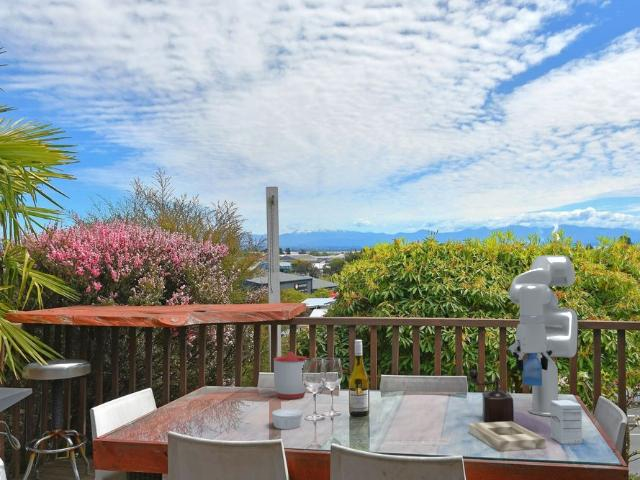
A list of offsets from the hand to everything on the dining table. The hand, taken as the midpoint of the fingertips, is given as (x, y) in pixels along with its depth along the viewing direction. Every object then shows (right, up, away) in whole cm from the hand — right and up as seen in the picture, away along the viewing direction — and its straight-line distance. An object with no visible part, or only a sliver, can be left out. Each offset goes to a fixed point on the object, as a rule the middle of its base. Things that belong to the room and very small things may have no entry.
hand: (532, 370), depth 215 cm
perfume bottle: (0, -5, 0) cm, 5 cm away
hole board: (-13, -21, -10) cm, 27 cm away
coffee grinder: (-10, -22, +15) cm, 29 cm away
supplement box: (+7, -21, -12) cm, 25 cm away
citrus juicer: (-86, -24, +57) cm, 106 cm away
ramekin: (-86, -22, +8) cm, 89 cm away
